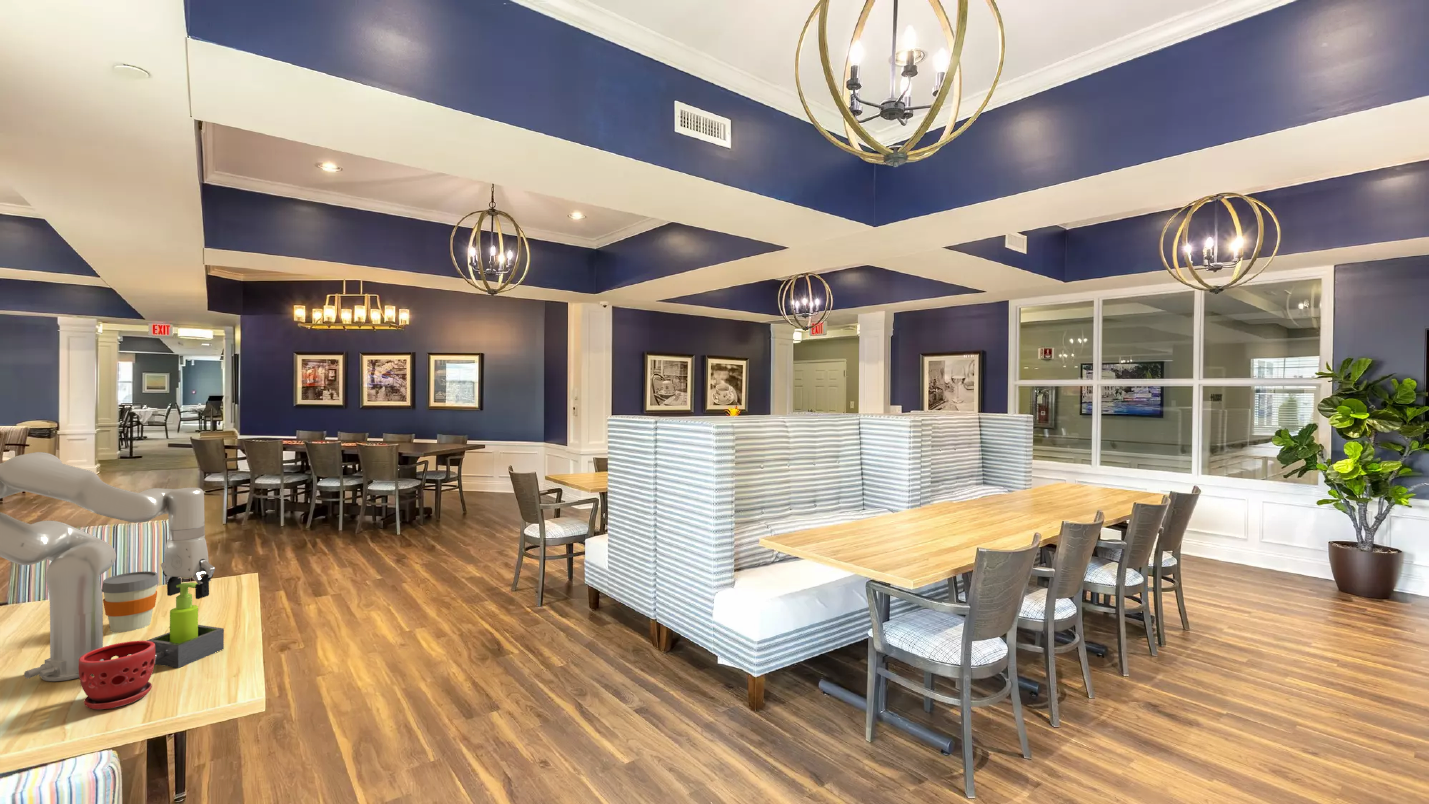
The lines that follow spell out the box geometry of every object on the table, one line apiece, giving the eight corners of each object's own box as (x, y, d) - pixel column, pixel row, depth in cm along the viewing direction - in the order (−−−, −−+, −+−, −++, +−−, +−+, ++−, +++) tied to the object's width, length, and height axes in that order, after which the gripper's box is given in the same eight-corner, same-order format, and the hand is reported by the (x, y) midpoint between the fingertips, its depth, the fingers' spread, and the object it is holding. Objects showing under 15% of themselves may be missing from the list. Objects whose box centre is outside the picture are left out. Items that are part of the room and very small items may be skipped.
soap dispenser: (188, 661, 168) (189, 587, 167) (163, 660, 168) (163, 586, 167) (207, 651, 173) (207, 580, 173) (182, 651, 174) (183, 579, 173)
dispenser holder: (159, 676, 159) (159, 652, 159) (126, 670, 162) (126, 647, 161) (223, 649, 175) (223, 628, 175) (192, 644, 178) (192, 624, 178)
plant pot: (169, 686, 154) (169, 638, 154) (120, 715, 141) (120, 662, 140) (115, 686, 154) (115, 638, 153) (61, 714, 140) (61, 661, 140)
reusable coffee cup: (169, 619, 195) (169, 572, 195) (127, 635, 182) (127, 585, 182) (133, 617, 196) (133, 570, 196) (89, 633, 184) (89, 582, 183)
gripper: (147, 535, 168) (148, 597, 169) (197, 539, 164) (199, 603, 165) (176, 528, 175) (178, 588, 176) (226, 532, 171) (227, 594, 172)
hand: (188, 595), depth 170 cm, fingers open, 9 cm apart
